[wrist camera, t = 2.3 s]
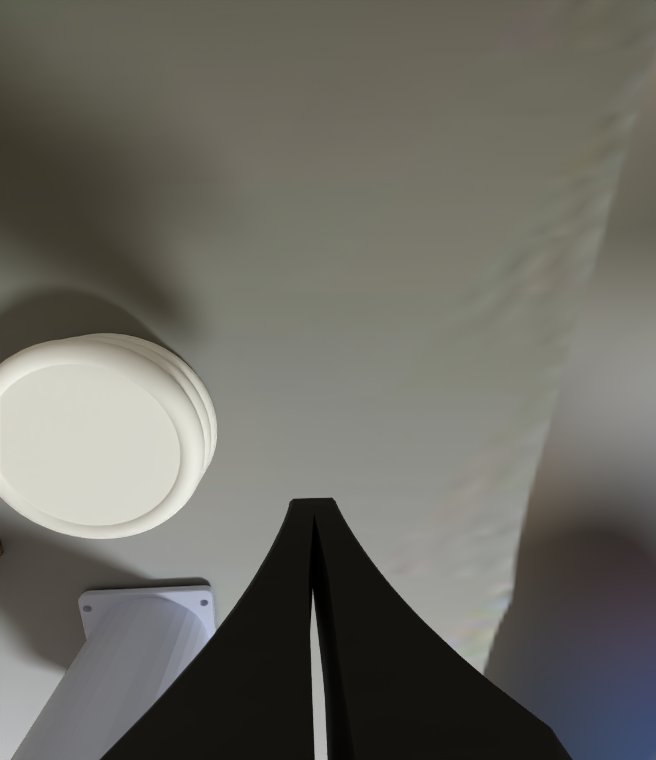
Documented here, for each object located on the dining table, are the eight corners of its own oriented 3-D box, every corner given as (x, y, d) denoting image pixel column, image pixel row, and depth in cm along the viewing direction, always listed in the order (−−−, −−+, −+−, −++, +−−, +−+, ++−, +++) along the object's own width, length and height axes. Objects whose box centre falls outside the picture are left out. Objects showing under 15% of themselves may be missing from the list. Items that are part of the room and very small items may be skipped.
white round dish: (231, 491, 19) (215, 533, 15) (59, 508, 18) (3, 555, 15) (205, 326, 16) (179, 332, 13) (4, 338, 16) (-78, 348, 12)
